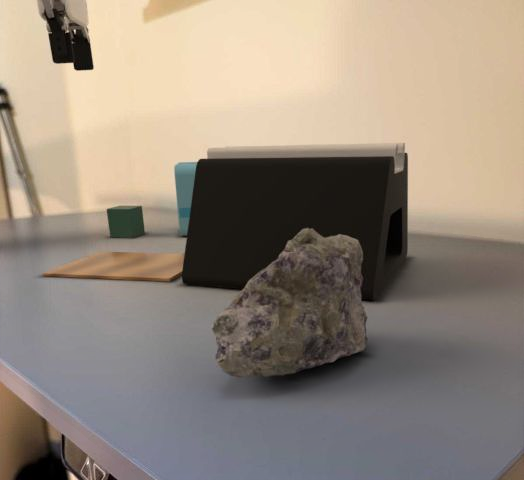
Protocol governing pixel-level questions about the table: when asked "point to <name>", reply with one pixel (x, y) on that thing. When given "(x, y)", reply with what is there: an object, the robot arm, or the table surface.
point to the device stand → (296, 208)
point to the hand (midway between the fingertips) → (74, 66)
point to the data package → (184, 192)
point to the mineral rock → (296, 310)
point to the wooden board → (123, 266)
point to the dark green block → (125, 221)
